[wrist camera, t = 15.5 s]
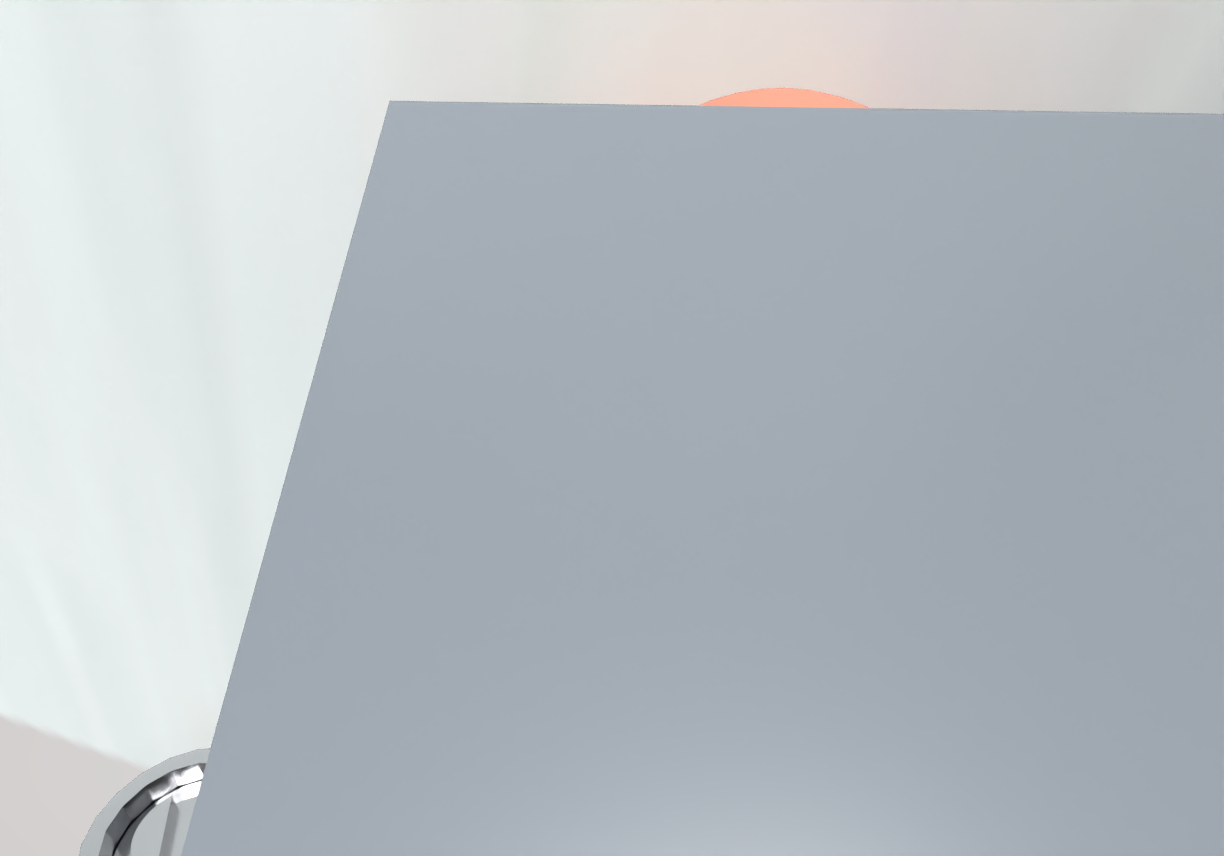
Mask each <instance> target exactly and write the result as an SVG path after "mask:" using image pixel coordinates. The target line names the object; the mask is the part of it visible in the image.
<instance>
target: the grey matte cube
mask: <svg viewBox="0 0 1224 856" xmlns="http://www.w3.org/2000/svg"><path fill="white" fill-rule="evenodd" d="M181 856H1224V114H1190V113H1127V112H1063V111H999V110H935V109H871V108H807V107H743V106H679V105H615V104H552V103H488V102H424V101H390V102H389V105H388V109H387V113H386V116H385V120H384V123H383V127H382V131H381V134H380V138H379V142H378V145H377V149H376V152H375V156H374V160H373V163H372V167H371V170H370V174H369V178H368V181H367V185H366V188H365V192H364V196H363V199H362V203H361V207H360V210H359V214H358V217H357V221H356V225H355V228H354V232H353V235H352V239H351V243H350V246H349V250H348V254H347V257H346V261H345V264H344V268H343V272H342V275H341V279H340V282H339V286H338V290H337V293H336V297H335V300H334V304H333V308H332V311H331V315H330V319H329V322H328V326H327V329H326V333H325V337H324V340H323V344H322V347H321V351H320V355H319V358H318V362H317V365H316V369H315V373H314V376H313V380H312V384H311V387H310V391H309V394H308V398H307V402H306V405H305V409H304V412H303V416H302V420H301V423H300V427H299V431H298V434H297V438H296V441H295V445H294V449H293V452H292V456H291V459H290V463H289V467H288V470H287V474H286V477H285V481H284V485H283V488H282V492H281V496H280V499H279V503H278V506H277V510H276V514H275V517H274V521H273V524H272V528H271V532H270V535H269V539H268V542H267V546H266V550H265V553H264V557H263V561H262V564H261V568H260V571H259V575H258V579H257V582H256V586H255V589H254V593H253V597H252V600H251V604H250V607H249V611H248V615H247V618H246V622H245V626H244V629H243V633H242V636H241V640H240V644H239V647H238V651H237V654H236V658H235V662H234V665H233V669H232V673H231V676H230V680H229V683H228V687H227V691H226V694H225V698H224V701H223V705H222V709H221V712H220V716H219V719H218V723H217V727H216V730H215V734H214V738H213V741H212V745H211V748H210V752H209V756H208V759H207V763H206V766H205V770H204V774H203V777H202V781H201V784H200V788H199V792H198V795H197V799H196V803H195V806H194V810H193V813H192V817H191V821H190V824H189V828H188V831H187V835H186V839H185V842H184V846H183V849H182V853H181Z"/></svg>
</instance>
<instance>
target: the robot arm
mask: <svg viewBox="0 0 1224 856" xmlns="http://www.w3.org/2000/svg"><path fill="white" fill-rule="evenodd" d="M209 752H210V748H209V749H197V750H194V751H191V752H187V753H184V754H181V755H178V756H175V757H172V758H169V759H167V760H165V761H163V762H162V763H160V764H158V765H156V766H154V767H152V768H151V769H149V770H147V771H145V772H143V773H142V774H140V775H139V776H138V777H137V778H135V779H134V780H133V781H132V782H130V783H129V784H128V785H127V786H125V787H124V788H123V789H122V790H120V791H119V792H118V793H117V794H116V795H115V796H114V797H113V798H112V799H111V801H110V802H109V803H108V804H107V805H106V807H105V808H104V809H103V810H102V811H101V812H100V813H99V815H98V816H97V817H96V818H95V820H94V822H93V824H92V825H91V827H90V829H89V831H88V833H87V835H86V837H85V839H84V841H83V842H82V844H81V848H80V854H79V856H181V853H182V849H183V846H184V842H185V839H186V835H187V831H188V828H189V824H190V821H191V817H192V813H193V810H194V806H195V803H196V799H197V795H198V792H199V788H200V784H201V781H202V777H203V774H204V770H205V766H206V763H207V759H208V756H209Z"/></svg>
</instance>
